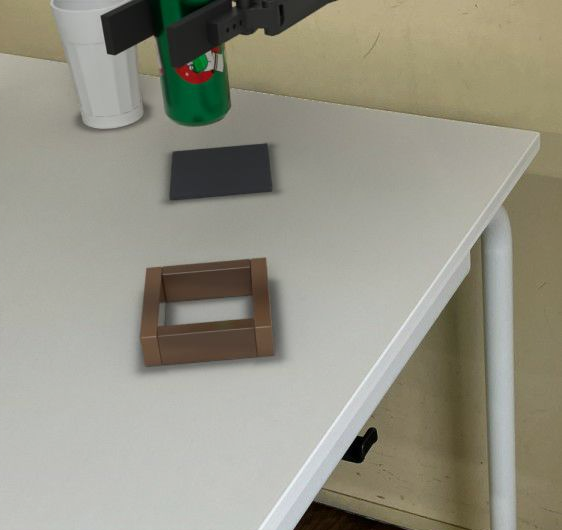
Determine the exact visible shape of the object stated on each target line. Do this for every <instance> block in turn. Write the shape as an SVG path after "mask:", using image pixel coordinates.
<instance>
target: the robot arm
mask: <svg viewBox="0 0 562 530" xmlns="http://www.w3.org/2000/svg"><path fill="white" fill-rule="evenodd" d="M337 1H339V0H216V1H214V2H212V3H210V4H208V5H206V6H204V7H202V8H200V9H199V10H197V11H195V12H193V13H191V14H189V15H187V16H185V17H183V18H181V19H180V20H178V21H176V22H174V23H172V24H170V25H168V26H166V33H167V41H168V48H169V55H170V62H171V67H176V68H181V67H183V66H184V65H186V64H188V63H190V62H191V61H193V60H195V59H197V58H198V57H200V56H202V55H204V54H205V53H207V52H209V51H210V50H212V49H214V48H216V47H217V46H219V45H221V44H223V43H225V44H226V43H228V42H229V41H231V40H232V39H234V38H236V37H238V36H239V35H241V36H250V35H253V34H255V33H256V32H257V31H258V30H259V29H262V30H263V34H264V35H265V36H268V37H269V36H270V37H275V36H278V35H280V34H282V33H284V32H285V31H287V30H288V29H289V28H291V27H293V26H295V25H297V24H298V23H300V22H301V21H303V20H304V19H307V17H309V16H311V15H313V14H314V13H316V12H317V11H319V10H320V9H322V8H324V7H325V6H327V5H329V4H332V3H334V2H337ZM233 3H235V5H234V6H233ZM100 17H101V23H102V29H103V34H104V40H105V45H106V51H107V54H109V55H114V56H115V55H117V54H119V53H121V52H123V51H125V50H127V49H129V48H131V47H133V46H134V45H136V44H137V45H138V44H141V43H142V42H144V41H146V40H147V39H150V38H151V37H154V35H153V28H152V22H151V15H150V8H149V2H148V0H132V1H130V2H128V3H126V4H123V5H121V6H119V7H117V8H115V9H113V10H111V11H109V12H107V13H105V14H103V15H101V16H100Z"/></svg>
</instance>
